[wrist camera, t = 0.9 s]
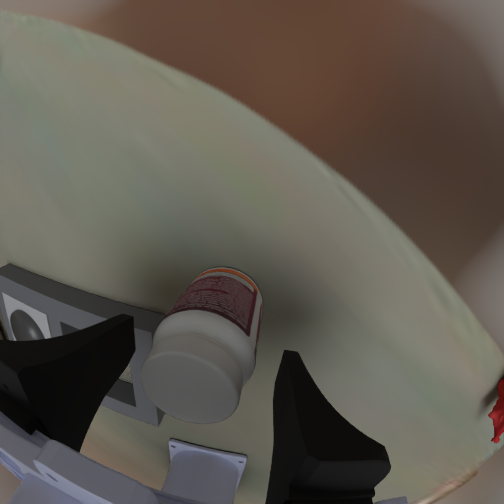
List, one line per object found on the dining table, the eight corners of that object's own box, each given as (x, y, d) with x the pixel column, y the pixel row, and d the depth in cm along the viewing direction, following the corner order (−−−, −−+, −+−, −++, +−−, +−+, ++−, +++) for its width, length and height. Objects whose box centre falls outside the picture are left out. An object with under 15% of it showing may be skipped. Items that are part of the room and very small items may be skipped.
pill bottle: (177, 279, 17) (109, 354, 9) (245, 254, 16) (214, 329, 8) (208, 340, 18) (168, 433, 10) (274, 321, 17) (267, 422, 9)
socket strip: (167, 408, 21) (156, 431, 18) (27, 346, 22) (11, 359, 19) (165, 314, 18) (147, 337, 15) (9, 263, 19) (-12, 273, 16)
